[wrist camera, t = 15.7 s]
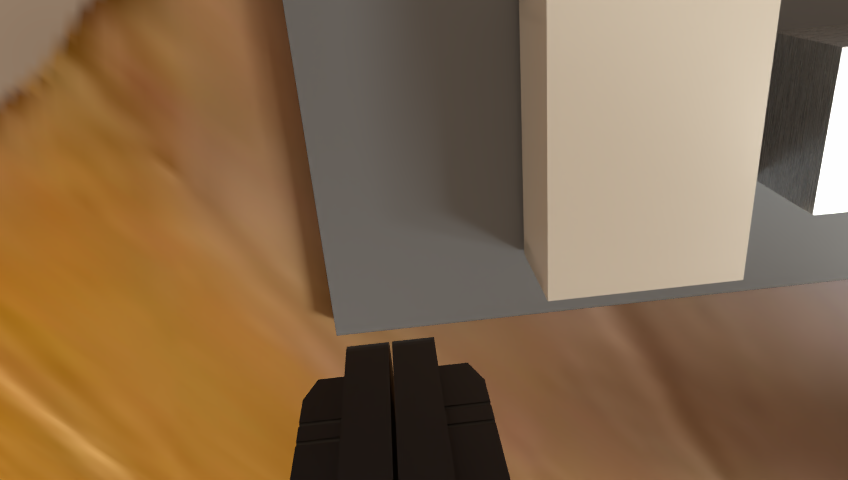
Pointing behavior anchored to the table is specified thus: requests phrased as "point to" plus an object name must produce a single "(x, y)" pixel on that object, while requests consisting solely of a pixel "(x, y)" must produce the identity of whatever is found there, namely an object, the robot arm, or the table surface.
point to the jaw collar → (808, 120)
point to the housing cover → (641, 140)
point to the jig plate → (467, 167)
